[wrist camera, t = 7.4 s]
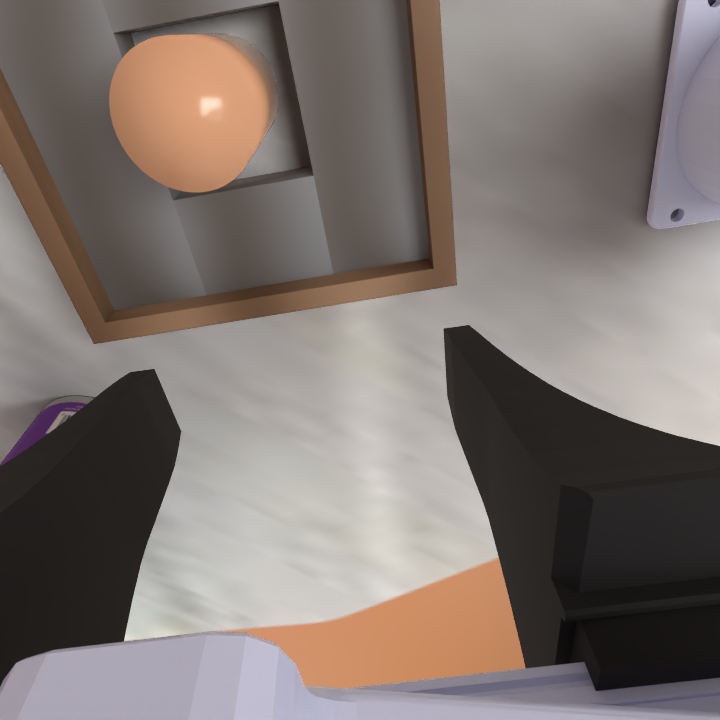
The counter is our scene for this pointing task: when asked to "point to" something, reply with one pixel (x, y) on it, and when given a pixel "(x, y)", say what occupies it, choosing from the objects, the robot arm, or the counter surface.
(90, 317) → the box
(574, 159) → the counter surface
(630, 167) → the counter surface
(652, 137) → the counter surface
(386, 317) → the counter surface
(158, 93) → the peg
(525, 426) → the robot arm
